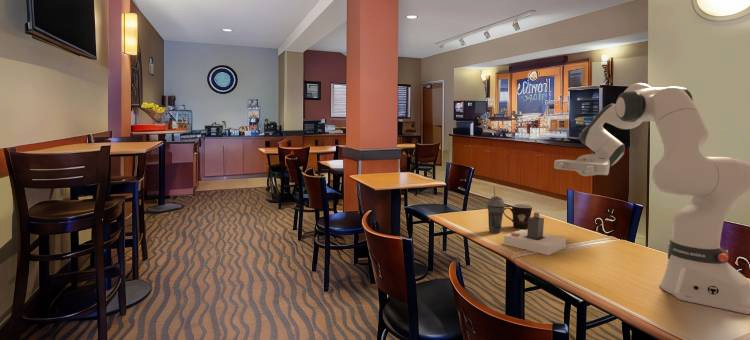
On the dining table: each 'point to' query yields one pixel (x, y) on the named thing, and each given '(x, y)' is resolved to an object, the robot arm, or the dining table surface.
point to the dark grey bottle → (535, 227)
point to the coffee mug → (520, 215)
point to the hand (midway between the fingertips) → (573, 167)
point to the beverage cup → (495, 213)
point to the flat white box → (535, 242)
